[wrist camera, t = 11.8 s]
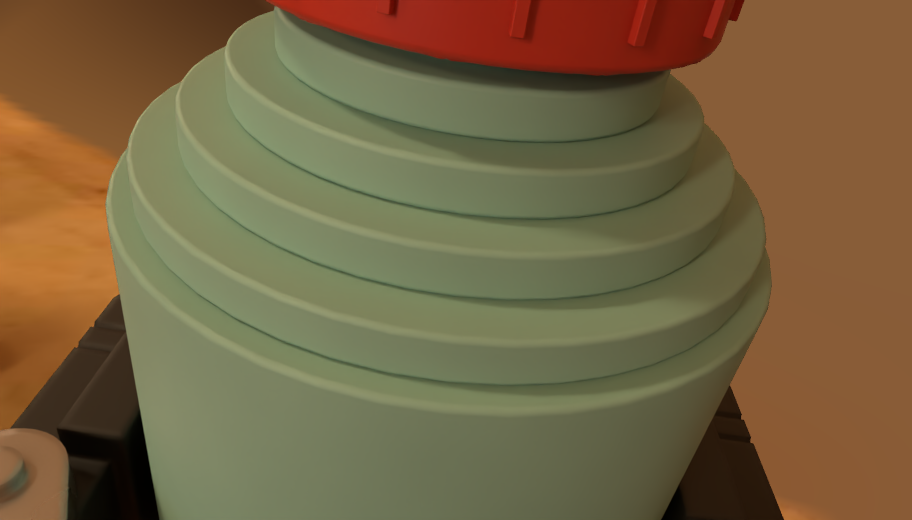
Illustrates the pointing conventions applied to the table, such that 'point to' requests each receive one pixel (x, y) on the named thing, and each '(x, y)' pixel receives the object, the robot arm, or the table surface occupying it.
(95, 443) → the robot arm
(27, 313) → the table surface
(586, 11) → the cap
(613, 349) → the bottle
